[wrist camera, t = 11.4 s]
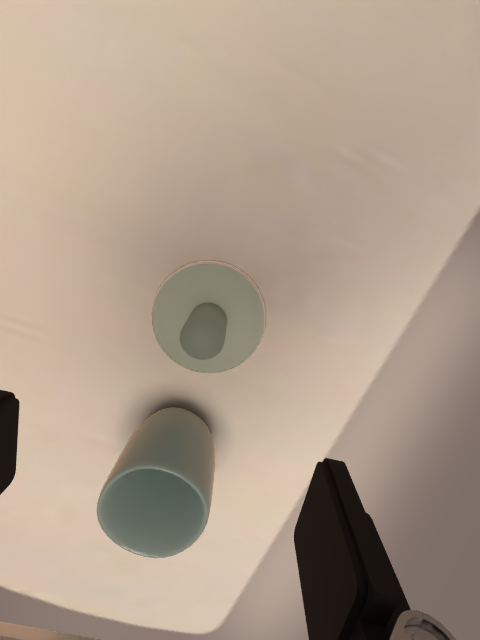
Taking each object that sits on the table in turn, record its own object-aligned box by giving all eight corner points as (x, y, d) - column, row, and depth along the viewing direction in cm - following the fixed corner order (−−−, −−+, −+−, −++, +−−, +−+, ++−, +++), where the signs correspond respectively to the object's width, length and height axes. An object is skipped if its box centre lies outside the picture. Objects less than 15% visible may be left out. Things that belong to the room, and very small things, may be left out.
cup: (233, 423, 33) (230, 503, 23) (189, 478, 34) (169, 575, 25) (166, 380, 32) (133, 445, 22) (123, 439, 33) (75, 524, 23)
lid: (224, 240, 28) (221, 243, 22) (284, 334, 30) (294, 357, 24) (132, 302, 29) (106, 319, 23) (195, 387, 31) (185, 422, 26)
